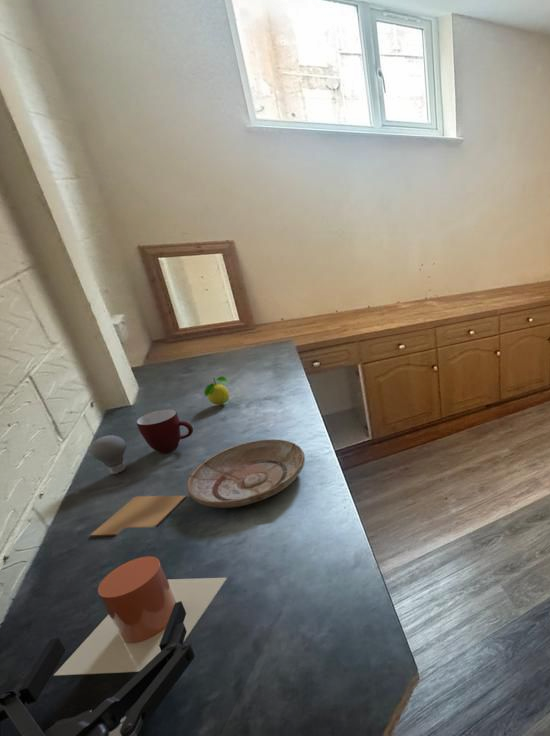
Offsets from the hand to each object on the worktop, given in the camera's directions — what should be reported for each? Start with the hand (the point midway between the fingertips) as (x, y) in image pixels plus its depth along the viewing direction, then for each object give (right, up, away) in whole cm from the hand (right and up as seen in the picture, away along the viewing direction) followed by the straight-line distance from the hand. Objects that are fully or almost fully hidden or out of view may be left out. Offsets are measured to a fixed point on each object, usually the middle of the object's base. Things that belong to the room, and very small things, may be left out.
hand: (122, 625), depth 57 cm
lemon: (-39, +22, +73) cm, 86 cm away
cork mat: (-24, +4, +28) cm, 37 cm away
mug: (-36, +13, +51) cm, 64 cm away
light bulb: (-41, +9, +41) cm, 59 cm away
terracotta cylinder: (-2, -4, +7) cm, 8 cm away
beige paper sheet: (-2, -5, +7) cm, 9 cm away
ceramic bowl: (-6, +7, +38) cm, 40 cm away
